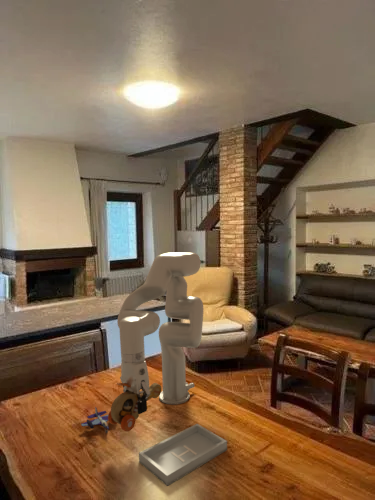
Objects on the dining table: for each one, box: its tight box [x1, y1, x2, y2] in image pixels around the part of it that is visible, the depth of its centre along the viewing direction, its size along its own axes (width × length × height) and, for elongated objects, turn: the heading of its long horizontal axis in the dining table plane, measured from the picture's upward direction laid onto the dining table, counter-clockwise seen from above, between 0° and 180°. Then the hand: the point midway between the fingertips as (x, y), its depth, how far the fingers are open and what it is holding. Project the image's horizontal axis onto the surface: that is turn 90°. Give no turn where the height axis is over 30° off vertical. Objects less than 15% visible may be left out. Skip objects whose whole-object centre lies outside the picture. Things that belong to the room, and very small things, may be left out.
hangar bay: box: [138, 423, 228, 487], centre depth 117 cm, size 24×14×3 cm, turn 131°
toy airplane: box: [80, 406, 112, 434], centre depth 134 cm, size 13×14×4 cm
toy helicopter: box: [107, 382, 162, 432], centre depth 124 cm, size 8×21×14 cm, turn 139°
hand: (135, 407), depth 123 cm, fingers closed on toy helicopter, 7 cm apart
